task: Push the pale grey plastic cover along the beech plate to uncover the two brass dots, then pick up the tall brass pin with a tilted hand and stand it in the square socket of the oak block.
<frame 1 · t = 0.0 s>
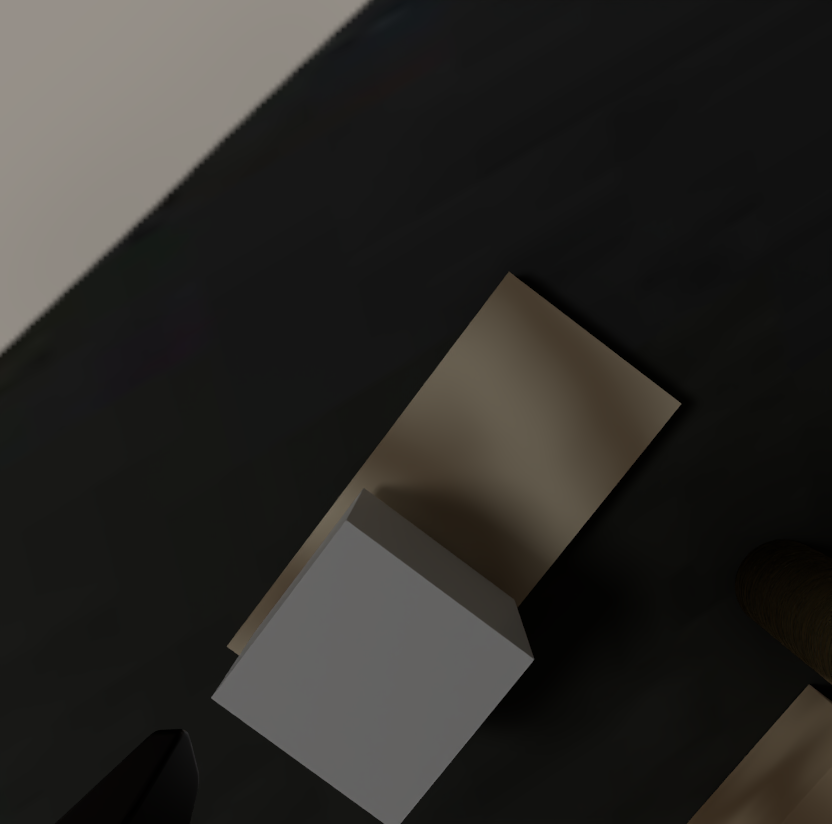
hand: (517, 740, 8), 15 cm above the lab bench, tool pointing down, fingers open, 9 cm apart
layout plate: (446, 521, 23), on the lab bench
brass pin: (781, 584, 23), on the lab bench
cover: (377, 644, 20), point 4 cm above the lab bench, slide at 0.0 cm
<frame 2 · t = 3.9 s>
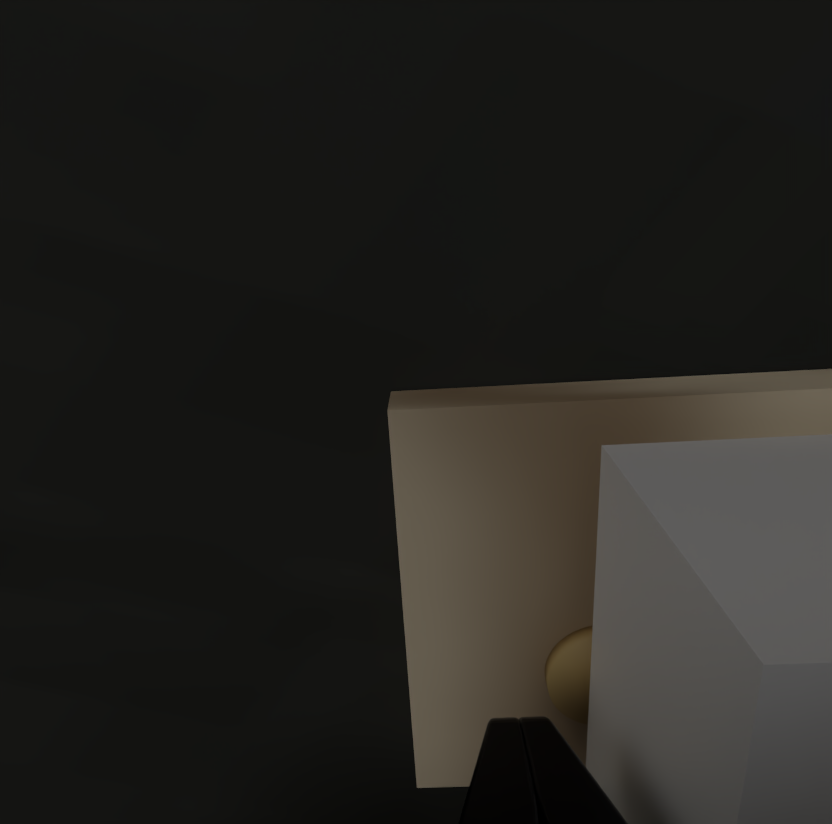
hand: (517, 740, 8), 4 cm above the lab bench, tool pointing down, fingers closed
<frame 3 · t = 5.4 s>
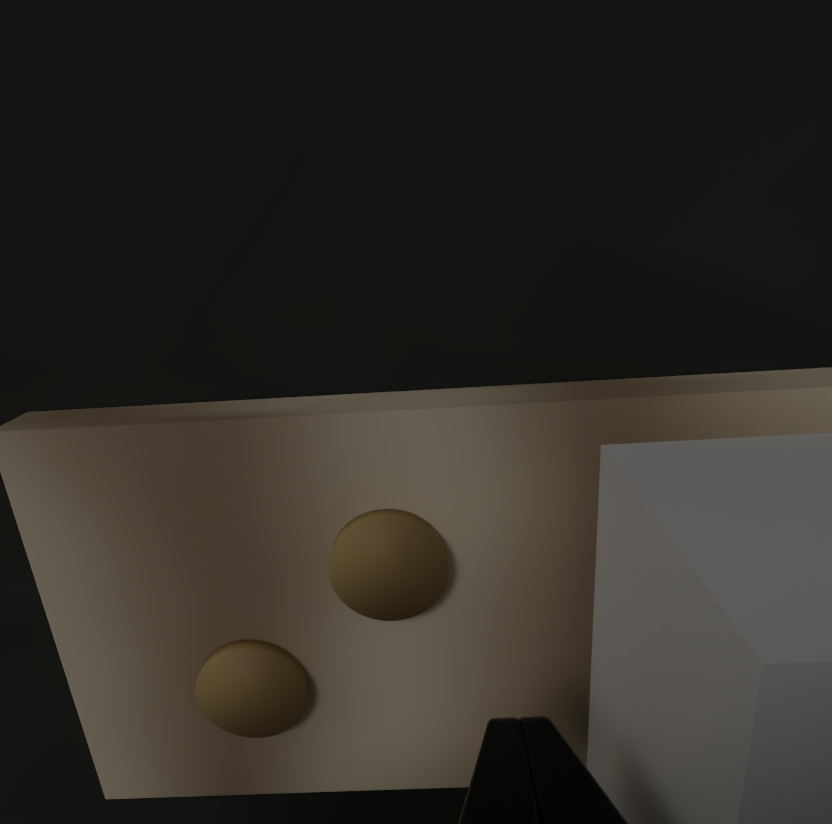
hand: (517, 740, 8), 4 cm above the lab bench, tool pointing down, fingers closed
layout plate: (542, 582, 11), on the lab bench
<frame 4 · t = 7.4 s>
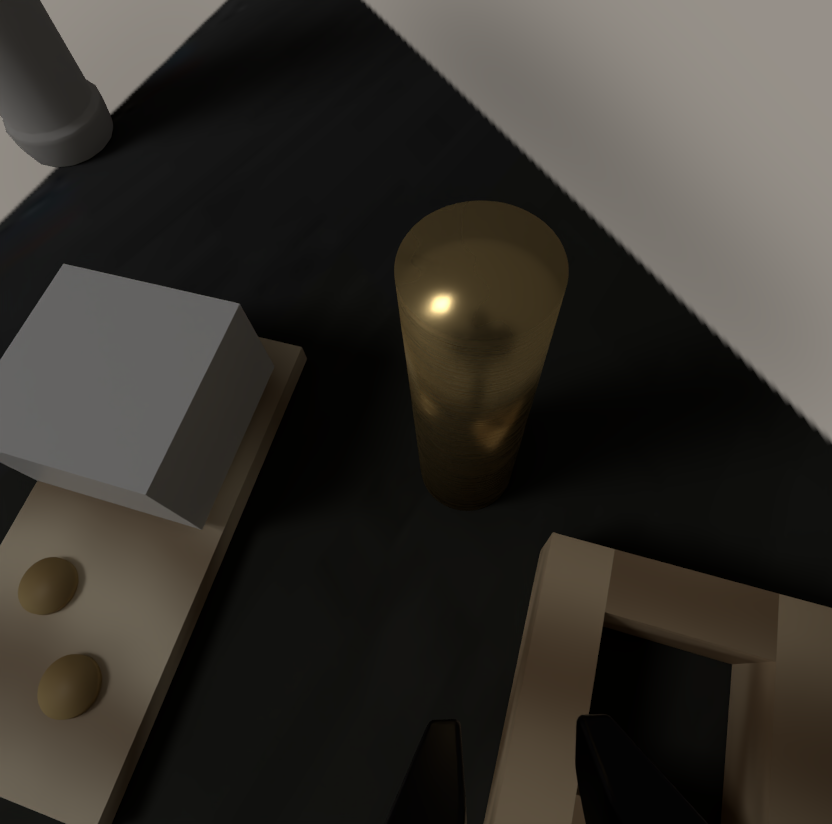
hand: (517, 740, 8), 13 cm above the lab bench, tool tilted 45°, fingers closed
layout plate: (131, 528, 23), on the lab bench
brass pin: (466, 466, 24), on the lab bench
cover: (133, 397, 21), point 4 cm above the lab bench, slide at 8.1 cm
socket block: (647, 719, 20), on the lab bench
bottle: (73, 139, 33), on the lab bench
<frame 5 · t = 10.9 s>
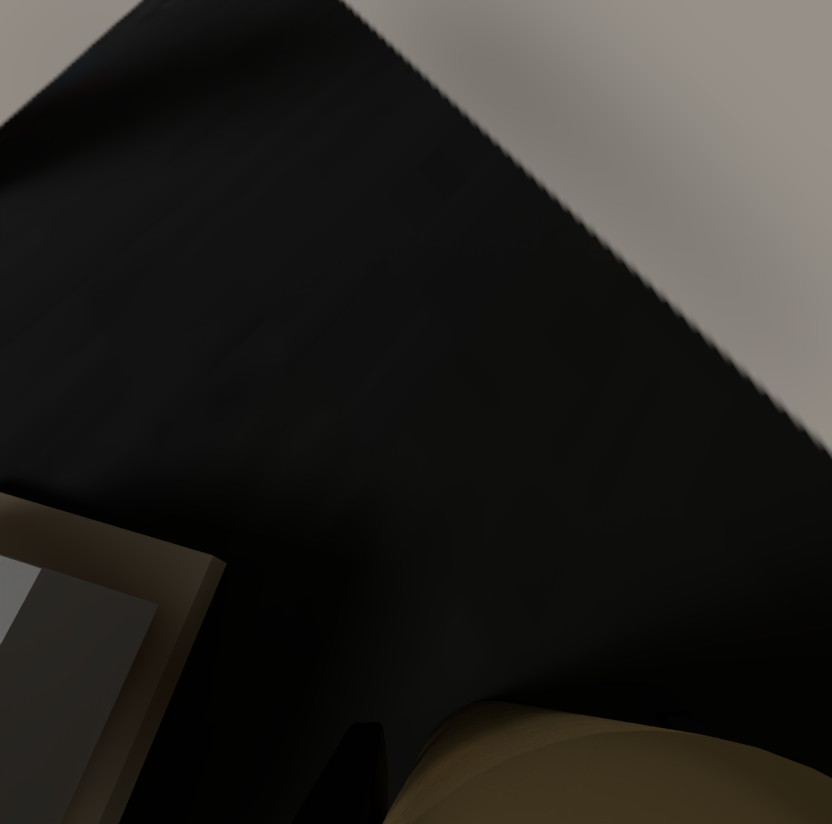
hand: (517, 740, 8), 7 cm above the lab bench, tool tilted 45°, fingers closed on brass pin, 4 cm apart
brass pin: (495, 789, 13), on the lab bench, touching gripper
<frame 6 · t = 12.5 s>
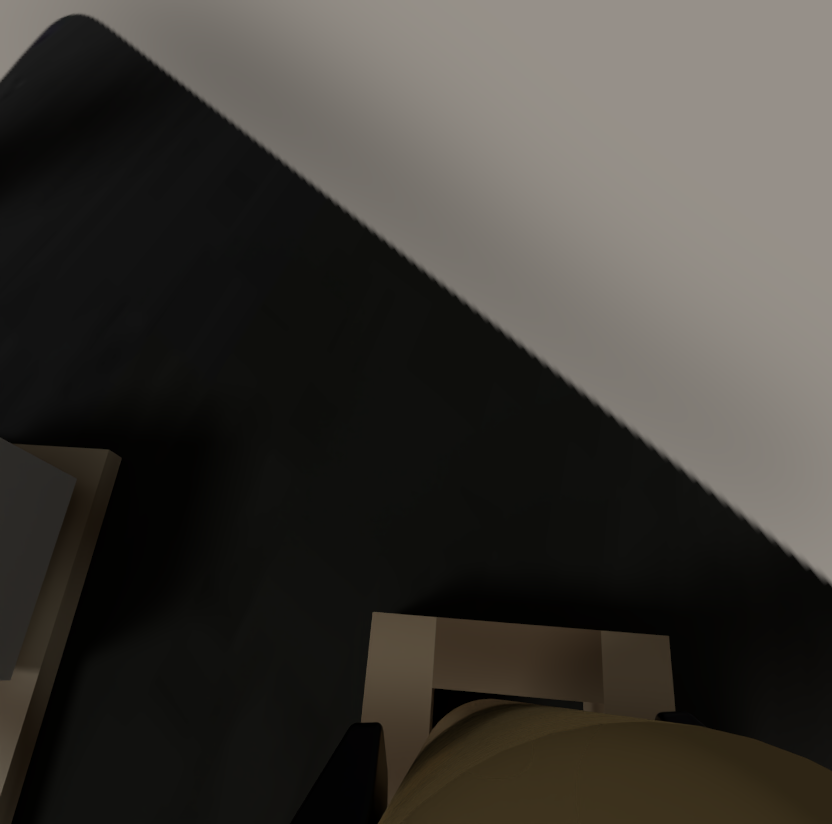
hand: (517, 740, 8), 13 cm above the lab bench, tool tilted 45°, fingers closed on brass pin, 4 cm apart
brass pin: (494, 787, 13), point 7 cm above the lab bench, touching gripper
socket block: (506, 779, 19), on the lab bench
when the fingers open (8 cm above the lab bench, at t = 14.2 s): brass pin drops 1 cm, resting in socket block.
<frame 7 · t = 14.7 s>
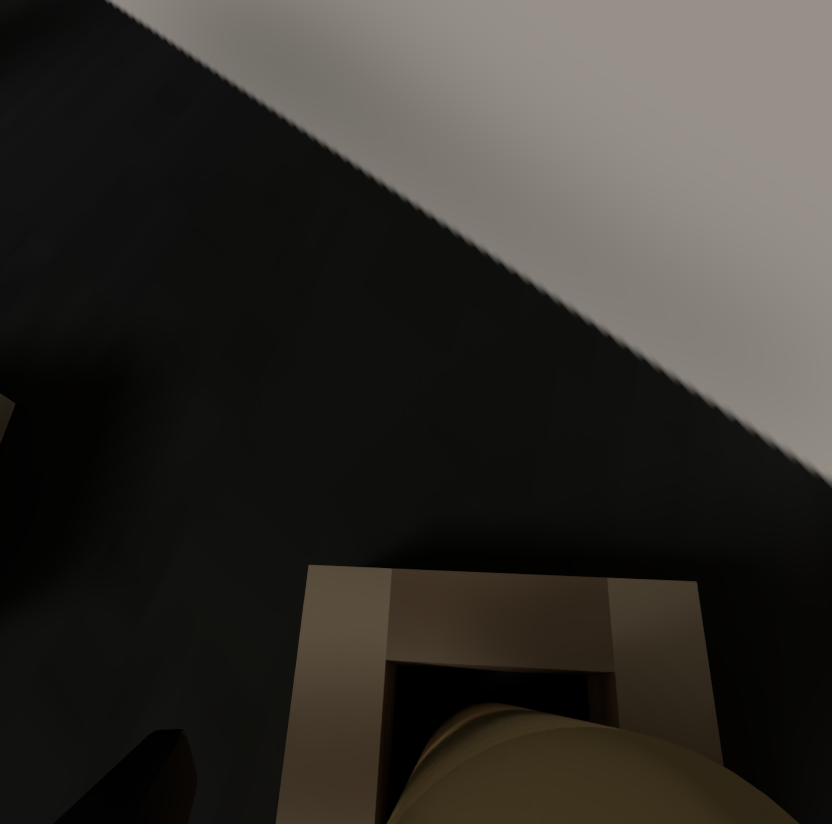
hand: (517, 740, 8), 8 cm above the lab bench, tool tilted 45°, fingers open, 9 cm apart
brass pin: (491, 782, 15), resting in socket block
socket block: (491, 780, 15), on the lab bench
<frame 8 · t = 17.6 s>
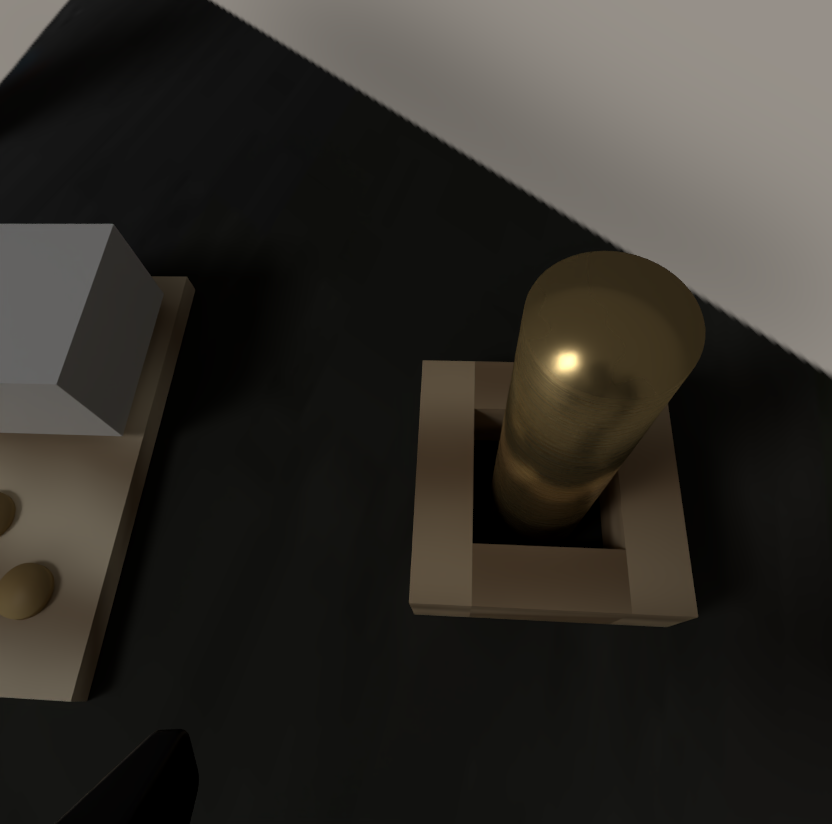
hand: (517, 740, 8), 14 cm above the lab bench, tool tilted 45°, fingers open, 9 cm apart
layout plate: (59, 460, 25), on the lab bench
brass pin: (535, 501, 23), resting in socket block
cover: (33, 331, 23), point 4 cm above the lab bench, slide at 8.1 cm
socket block: (534, 500, 23), on the lab bench
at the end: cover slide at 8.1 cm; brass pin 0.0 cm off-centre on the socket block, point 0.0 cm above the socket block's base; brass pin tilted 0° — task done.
